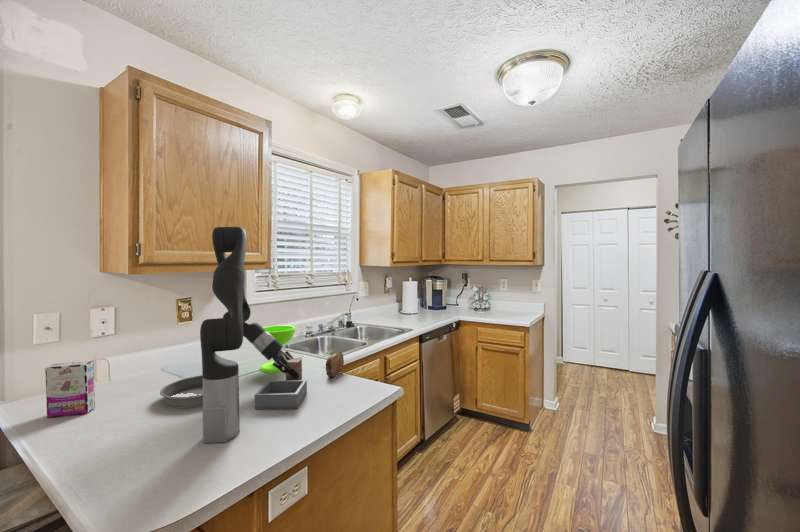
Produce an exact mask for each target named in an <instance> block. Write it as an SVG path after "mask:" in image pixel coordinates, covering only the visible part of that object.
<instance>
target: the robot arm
mask: <svg viewBox="0 0 800 532" xmlns="http://www.w3.org/2000/svg"><path fill="white" fill-rule="evenodd" d="M247 237H248V236H247V233H246V229H245V228H244V227H241V226H217V227H214V228H213V230H212V237H211V238H212V239H211V240H212V247H213V251H214V255H215V258H216V263H217V267H216V268H215V269H214V272H213V276H212V286H211V289H212V291H213V294H214V295H215V297H216V299H218V301H219V302H220V303H221V304H222V305H223V306H224V307H225V308H226V310H227V311H226V312H225V313H224V314H223V316H222V317H221V318H220V317H219V318H208V319H204V320H203V321H202V323H201V324H200V332H199V335H200V336H199V339H200V349H201V367H202V370H201V371H202V374H201V375H202V378H203V406H202V442H203V444H205V443H206V444H211V443H212V444H213V443H214V444H215V443H226V442H228V441H229V440H231V439H234V438H235V437H237V436H238V435H239V434H240V432H241V431H240V429H241V427H240V425H241V423H240V420H241V419H240V377H239V376H240V375H239V374H240V373H239V370H240V369H239V364H238V362H237V361H236V360H235V361H234V360H232V359H226V358H224V357H221V356H220V355H219V354H217V353H218V352H226V351H235V350H239V349H240V348H241V347H242V345H243V341H244V338H245V339H246V340H247V341H248V342H249V343H250V344H251V345H252V346H253V347H254V348H255V350H257V352H258V353H260V354H261V355H262V357H264V358H265V359H266V360H268V361H270V360H273V362H274V361H275V362H274V363H273V365H274V366H275V367H276V368H278V369H279V370H280V371H282V372H281V373H282V374H285V375H286V373H288V374H289V375H291V376H292V377H293V378H294V379H296V378H297V377H298V376H299V374H298V373H297V372H296V371H294V370H293V369H292V368H291V366H290V365H289V363H288V359H295V358H294V357H293V356H292V354H291V353H290V352H289V351H288V350H286V351H283V350H282V349H283V348H284V345H282V344H280V343H279V342H278V341H277V340H276V339H275V338H274V337H273V336H272V335H271V334H270V333H268V332H267V331H266V330H265V329H264V327H263V326H262V325H261V324H260V323H258V322H256V321H255V322H252V323H248V322H247V321H248V320H249V319H250V317H251V311H252V310H251V307H250V306H249V304H248V301H247V299H246V296H245V295H246V294H245V260H246V259H245V258H246V252H247V244H248V242H247V241H248V238H247ZM226 253H229V255H228V256H226ZM216 352H217V353H216Z"/></svg>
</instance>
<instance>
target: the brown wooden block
mask: <svg viewBox="0 0 800 532" xmlns="http://www.w3.org/2000/svg"><path fill="white" fill-rule="evenodd" d="M302 360H303V359H302V358H294V359H288V363H289V365H290V366H291V368H292V369H293V370H294V371H296V372H297V373H298V374H299V376H298V377H297V378H296V379H294V378H293V377H292V376H291V375H289V374H288V373H285V381H288V380H303V367H302V365H303V363H302V362H303V361H302Z"/></svg>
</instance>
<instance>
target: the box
mask: <svg viewBox="0 0 800 532" xmlns="http://www.w3.org/2000/svg"><path fill="white" fill-rule="evenodd" d="M307 381H308V380H307V379H302V380H288V381H286V380H268V381H267V382H266V383H265V384H264V385H263V386H262V387H261V388H260V389H259V390H258V391H257V392H256V393H254V411H266V410H267V411H271V410H273V411H274V410H298V409H299V408H300V405H302V402H303V401H304V400H305V397H306V396H307V394H308V387H307V386H308V385H307V384H308V382H307Z"/></svg>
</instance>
